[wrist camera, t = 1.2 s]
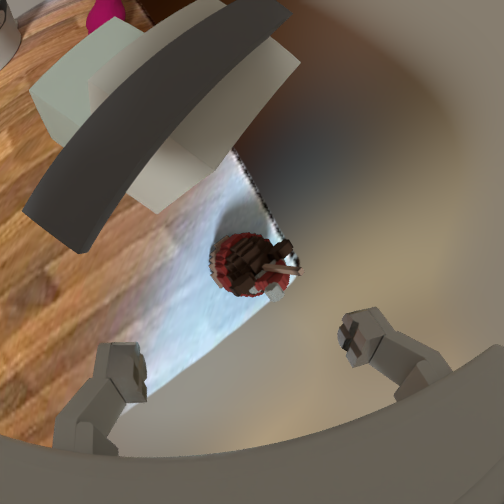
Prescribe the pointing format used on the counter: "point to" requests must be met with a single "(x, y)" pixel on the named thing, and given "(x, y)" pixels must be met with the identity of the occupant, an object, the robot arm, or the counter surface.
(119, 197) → the gray rectangular bar
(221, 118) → the step stand
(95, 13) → the pepper mill
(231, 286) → the cake
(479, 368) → the robot arm
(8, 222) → the counter surface
